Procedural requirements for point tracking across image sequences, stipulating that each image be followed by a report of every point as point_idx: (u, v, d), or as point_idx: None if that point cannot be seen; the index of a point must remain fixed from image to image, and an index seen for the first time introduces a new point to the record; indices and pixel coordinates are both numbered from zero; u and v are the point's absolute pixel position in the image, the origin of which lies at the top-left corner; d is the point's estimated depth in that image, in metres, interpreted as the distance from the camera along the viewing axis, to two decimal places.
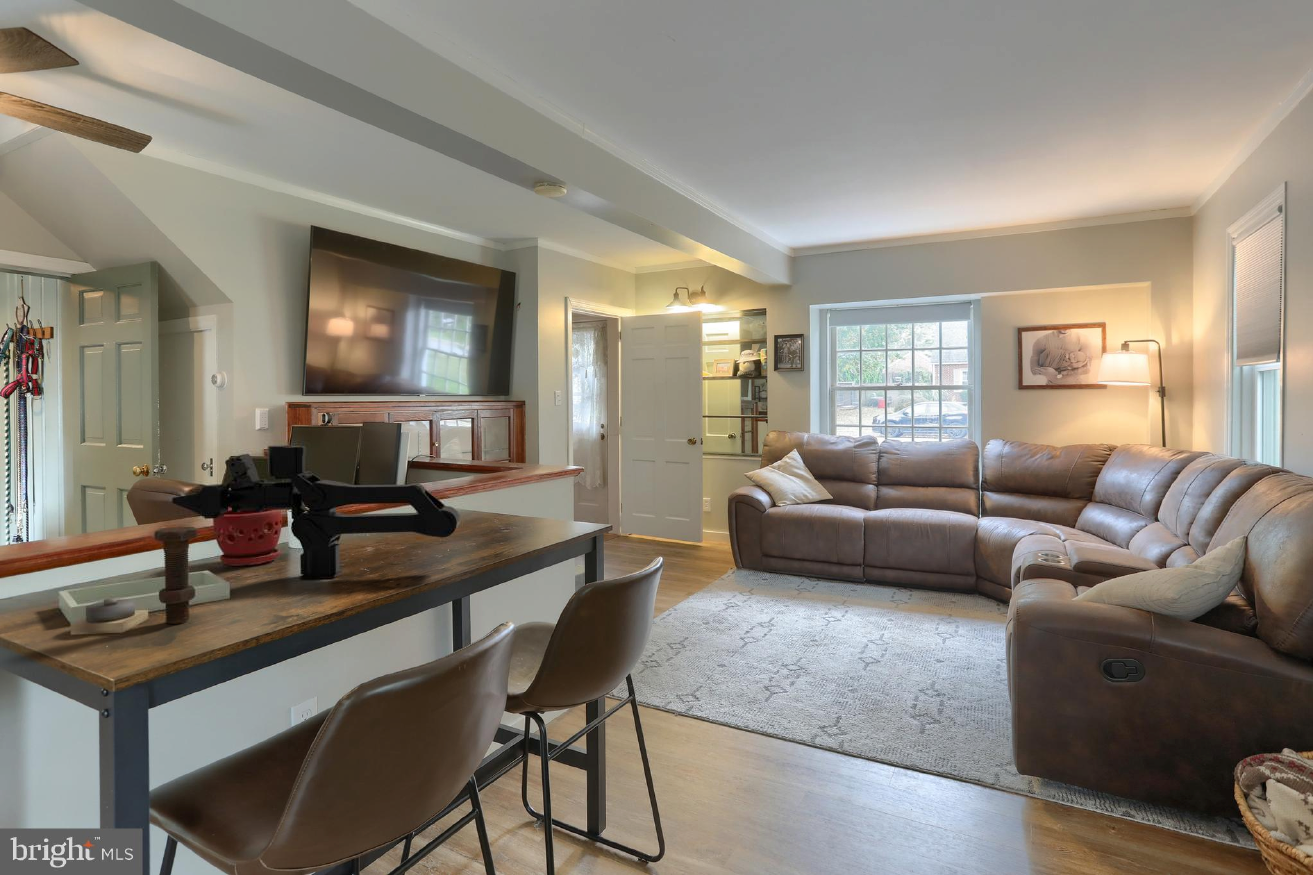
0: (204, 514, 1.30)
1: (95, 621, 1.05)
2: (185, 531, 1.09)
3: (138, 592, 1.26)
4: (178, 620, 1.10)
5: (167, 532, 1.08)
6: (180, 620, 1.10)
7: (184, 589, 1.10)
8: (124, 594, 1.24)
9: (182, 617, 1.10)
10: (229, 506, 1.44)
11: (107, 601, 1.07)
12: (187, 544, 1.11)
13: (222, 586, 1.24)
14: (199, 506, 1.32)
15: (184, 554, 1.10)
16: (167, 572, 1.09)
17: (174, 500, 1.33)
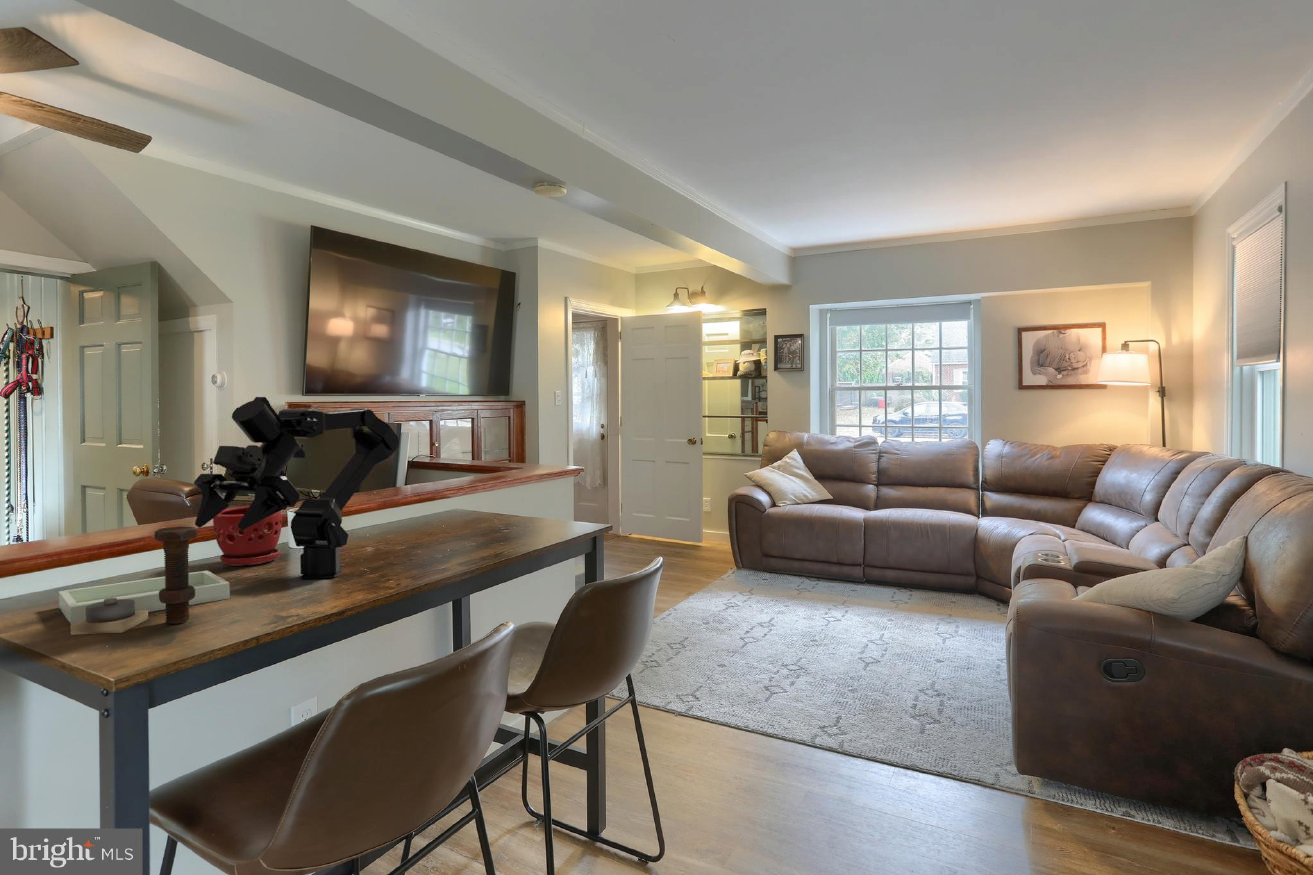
0: (293, 503, 1.23)
1: (95, 621, 1.05)
2: (185, 531, 1.09)
3: (138, 592, 1.26)
4: (178, 620, 1.10)
5: (167, 532, 1.08)
6: (180, 620, 1.10)
7: (184, 589, 1.10)
8: (124, 594, 1.24)
9: (182, 617, 1.10)
10: (226, 507, 1.26)
11: (107, 601, 1.07)
12: (187, 544, 1.11)
13: (222, 586, 1.24)
14: (268, 508, 1.21)
15: (184, 554, 1.10)
16: (167, 572, 1.09)
17: (242, 526, 1.17)
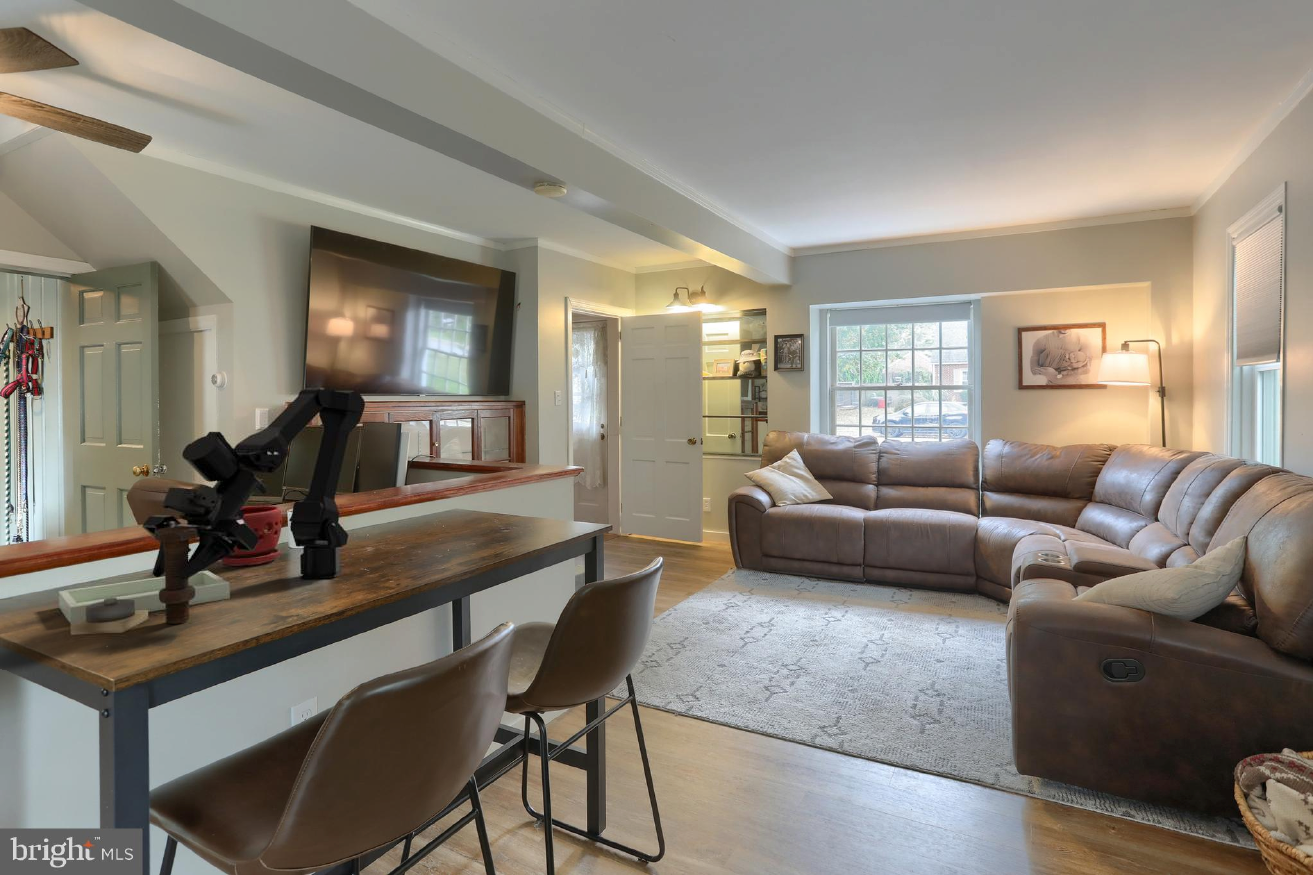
0: (252, 548, 1.13)
1: (95, 621, 1.05)
2: (185, 531, 1.09)
3: (138, 592, 1.26)
4: (178, 620, 1.10)
5: (167, 532, 1.08)
6: (180, 620, 1.10)
7: (184, 589, 1.10)
8: (124, 594, 1.24)
9: (182, 617, 1.10)
10: None
11: (107, 601, 1.07)
12: (187, 544, 1.10)
13: (222, 586, 1.24)
14: (214, 554, 1.12)
15: (184, 554, 1.10)
16: (167, 572, 1.09)
17: (185, 575, 1.09)
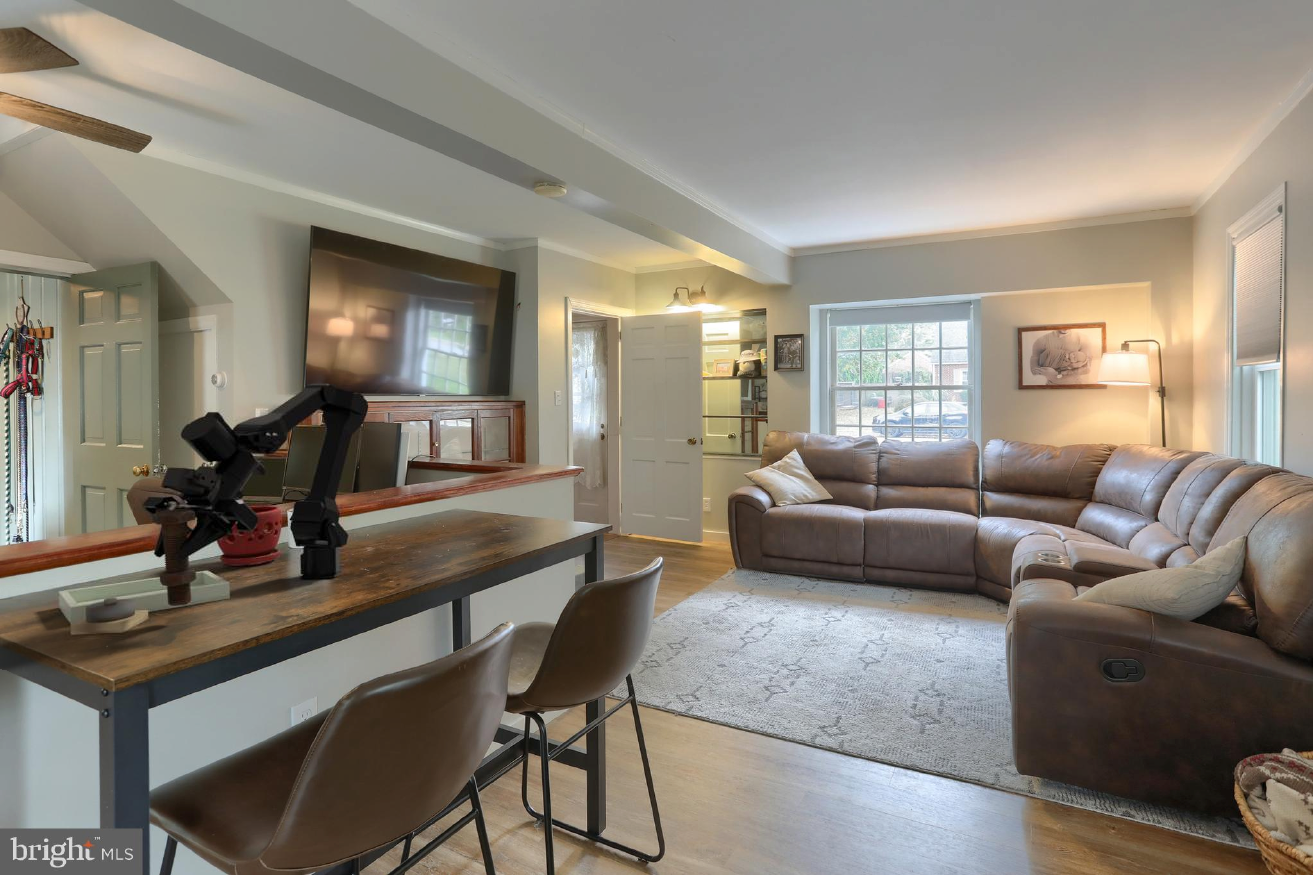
0: (252, 528, 1.13)
1: (95, 621, 1.05)
2: (183, 513, 1.09)
3: (138, 592, 1.26)
4: (180, 602, 1.10)
5: (165, 515, 1.07)
6: (182, 602, 1.10)
7: (185, 571, 1.10)
8: (124, 594, 1.24)
9: (184, 599, 1.10)
10: (189, 533, 1.16)
11: (107, 601, 1.07)
12: (186, 527, 1.10)
13: (222, 586, 1.24)
14: (212, 534, 1.12)
15: (183, 536, 1.10)
16: (167, 555, 1.09)
17: (183, 555, 1.09)
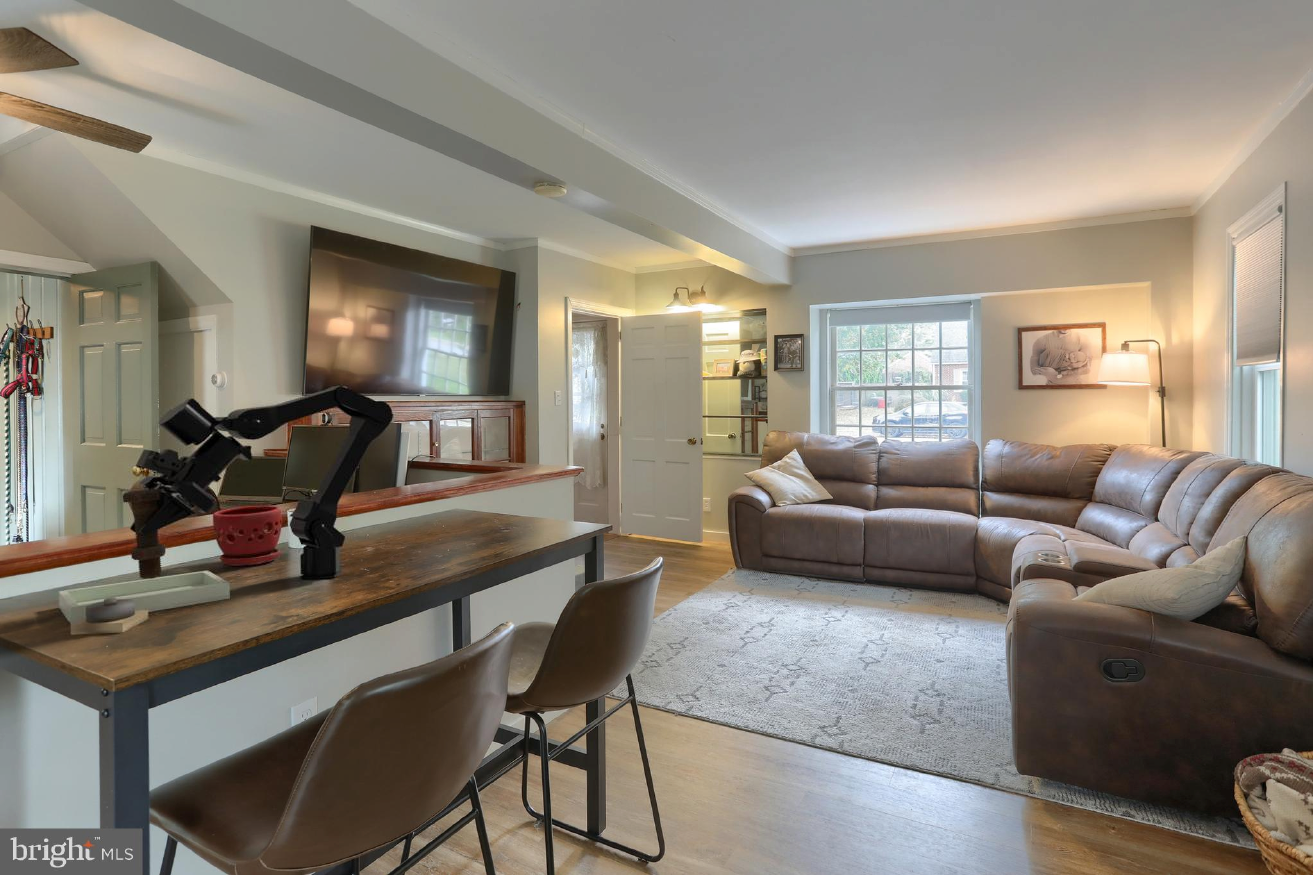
0: (204, 509, 1.17)
1: (95, 621, 1.05)
2: (144, 493, 1.16)
3: (138, 592, 1.26)
4: (147, 575, 1.17)
5: (128, 493, 1.16)
6: (149, 576, 1.17)
7: (149, 547, 1.17)
8: (124, 594, 1.24)
9: (150, 573, 1.18)
10: None
11: (107, 601, 1.07)
12: (152, 505, 1.18)
13: (222, 586, 1.24)
14: (175, 513, 1.19)
15: (148, 514, 1.17)
16: None
17: (144, 531, 1.16)
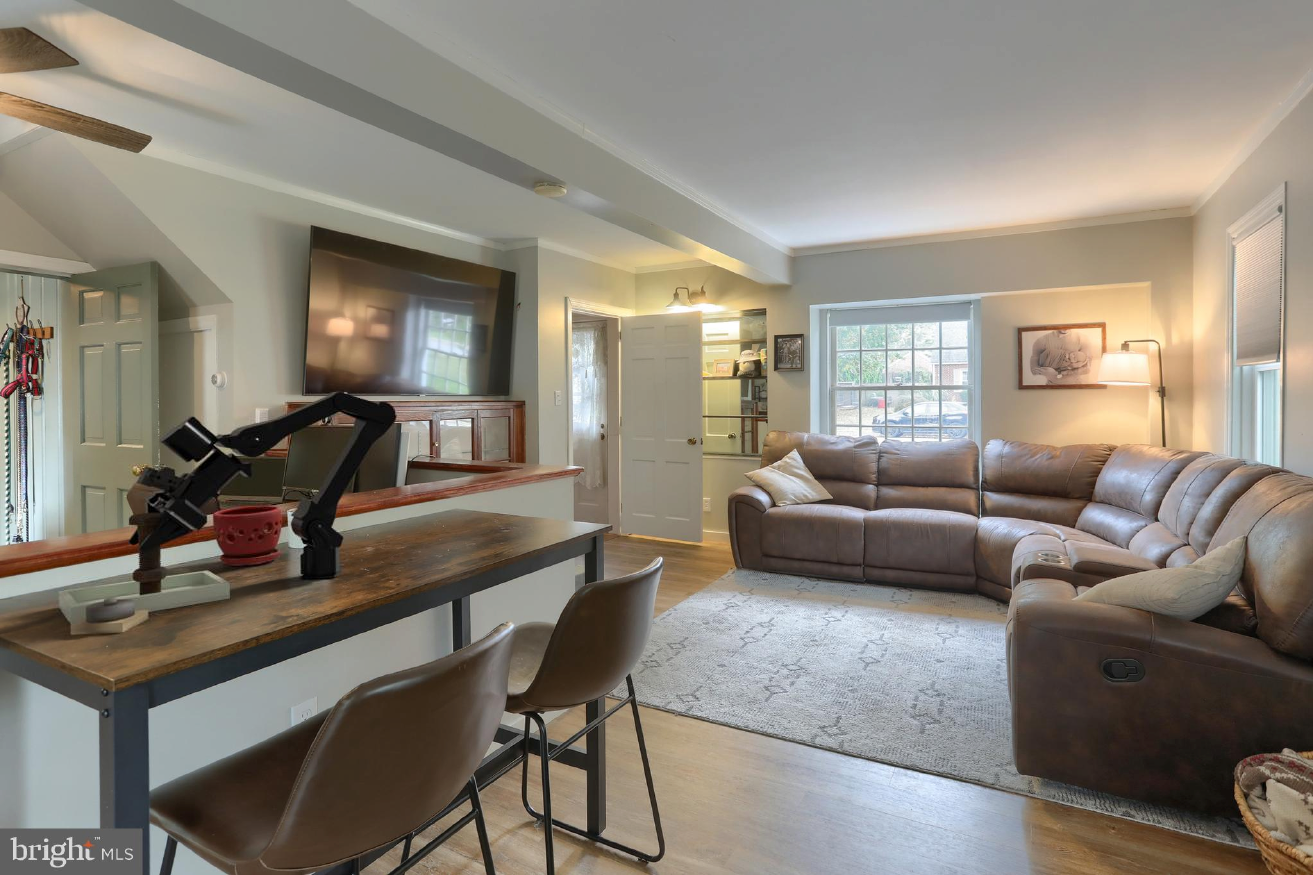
0: (196, 527, 1.19)
1: (95, 621, 1.05)
2: (148, 517, 1.19)
3: (138, 592, 1.26)
4: None
5: (134, 517, 1.19)
6: None
7: (150, 570, 1.20)
8: (124, 594, 1.24)
9: None
10: None
11: (107, 601, 1.07)
12: None
13: (222, 586, 1.24)
14: (174, 531, 1.19)
15: None
16: (139, 553, 1.20)
17: (143, 548, 1.17)
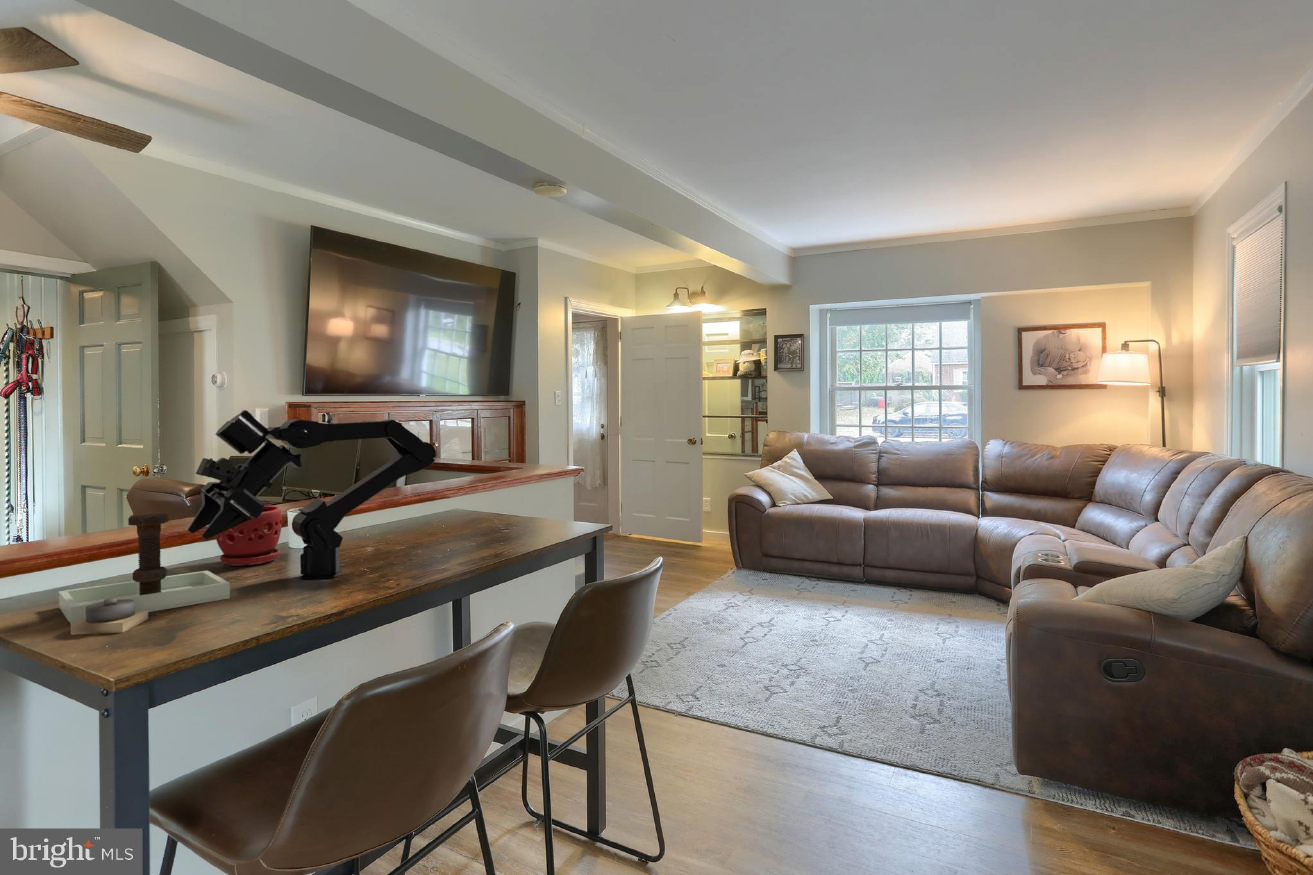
0: (254, 514, 1.25)
1: (95, 621, 1.05)
2: (147, 517, 1.19)
3: (138, 592, 1.26)
4: None
5: (133, 517, 1.19)
6: None
7: (150, 570, 1.20)
8: (124, 594, 1.24)
9: None
10: None
11: (107, 601, 1.07)
12: (155, 529, 1.21)
13: (222, 586, 1.24)
14: (234, 519, 1.26)
15: (151, 538, 1.20)
16: None
17: (206, 535, 1.24)
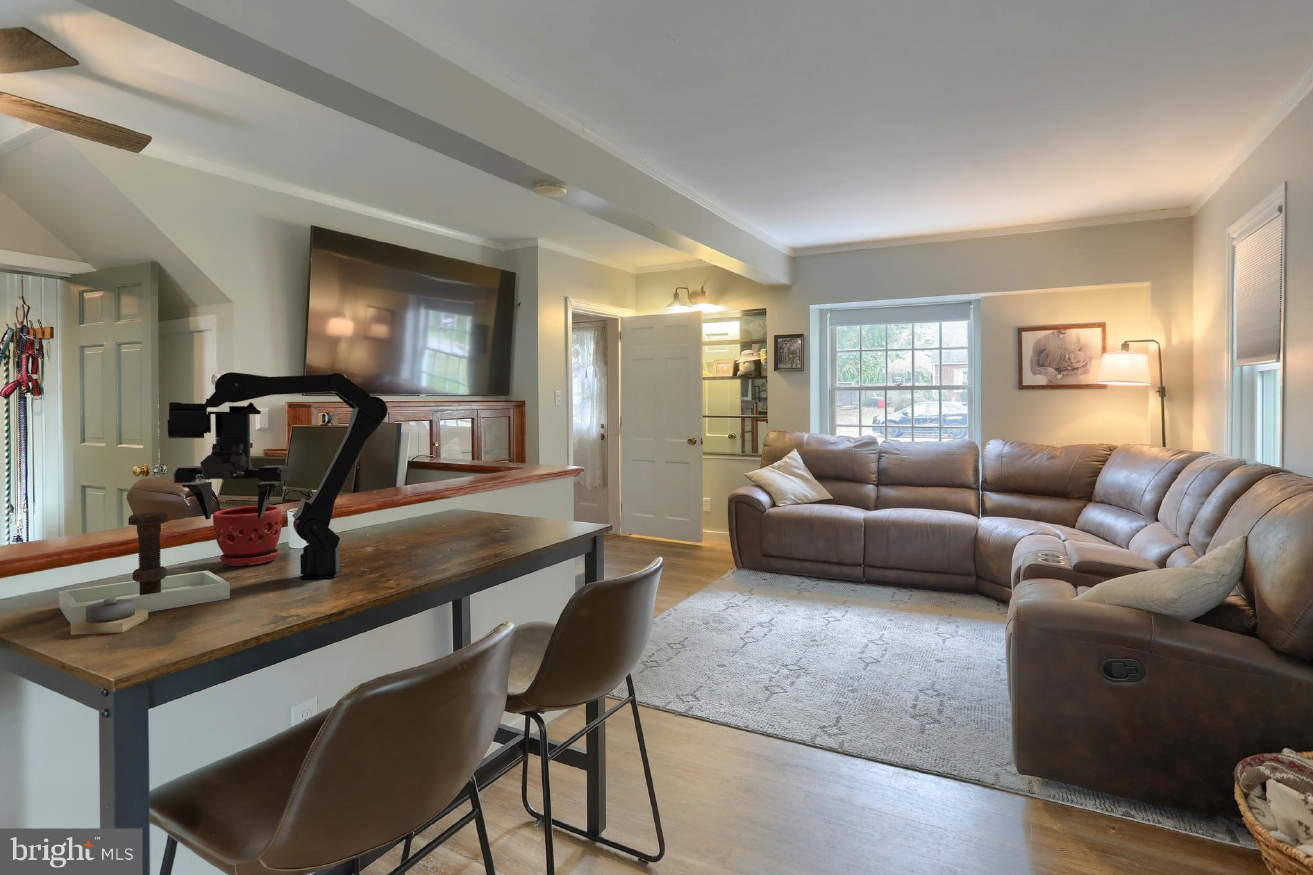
0: (289, 478, 1.37)
1: (95, 621, 1.05)
2: (148, 517, 1.19)
3: (138, 592, 1.26)
4: None
5: (133, 517, 1.19)
6: None
7: (150, 570, 1.20)
8: (124, 594, 1.24)
9: None
10: (211, 485, 1.35)
11: (107, 601, 1.07)
12: (155, 529, 1.21)
13: (222, 586, 1.24)
14: (269, 490, 1.36)
15: (151, 538, 1.20)
16: None
17: (261, 515, 1.34)
